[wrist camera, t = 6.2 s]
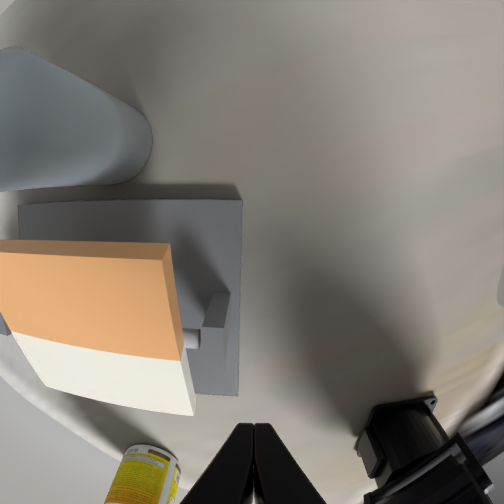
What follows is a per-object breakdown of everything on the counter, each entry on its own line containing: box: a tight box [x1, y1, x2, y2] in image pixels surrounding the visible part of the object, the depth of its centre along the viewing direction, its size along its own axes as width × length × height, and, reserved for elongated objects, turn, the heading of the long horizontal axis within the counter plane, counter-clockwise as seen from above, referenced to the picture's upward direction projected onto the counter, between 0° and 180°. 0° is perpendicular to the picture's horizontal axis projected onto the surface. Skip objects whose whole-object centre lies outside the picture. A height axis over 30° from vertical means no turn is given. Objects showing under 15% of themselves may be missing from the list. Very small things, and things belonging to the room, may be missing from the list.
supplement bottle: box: [104, 445, 181, 504], centre depth 17 cm, size 6×6×10 cm
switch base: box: [0, 199, 242, 396], centre depth 16 cm, size 16×13×6 cm
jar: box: [0, 47, 153, 192], centre depth 11 cm, size 5×5×11 cm
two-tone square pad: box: [0, 240, 201, 416], centre depth 14 cm, size 12×11×2 cm
